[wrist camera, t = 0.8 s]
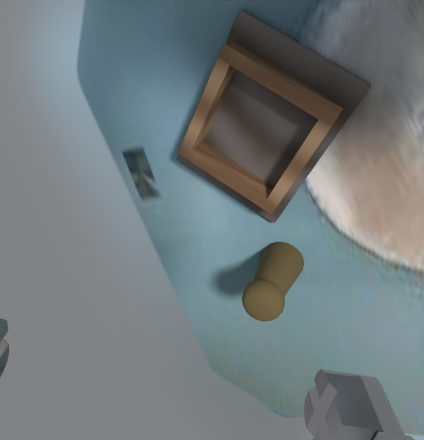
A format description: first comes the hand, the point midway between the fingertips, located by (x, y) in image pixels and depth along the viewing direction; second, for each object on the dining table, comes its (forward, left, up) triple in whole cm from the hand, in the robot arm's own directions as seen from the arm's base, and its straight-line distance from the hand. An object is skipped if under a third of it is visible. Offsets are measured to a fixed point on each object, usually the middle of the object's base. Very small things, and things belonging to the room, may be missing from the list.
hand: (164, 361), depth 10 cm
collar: (+8, -6, -39) cm, 40 cm away
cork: (+23, +6, -39) cm, 45 cm away
